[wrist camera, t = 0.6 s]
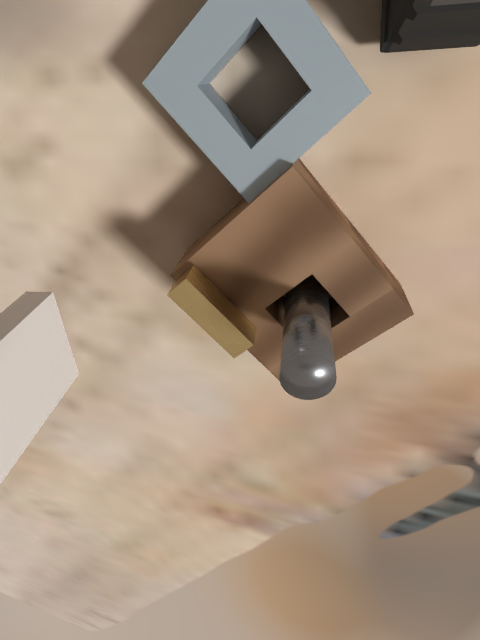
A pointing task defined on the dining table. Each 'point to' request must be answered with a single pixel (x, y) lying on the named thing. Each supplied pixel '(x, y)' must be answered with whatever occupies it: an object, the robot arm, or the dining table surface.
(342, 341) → the socket block
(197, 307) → the tan rectangular bar
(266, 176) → the grey square holed block
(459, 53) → the dining table surface
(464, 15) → the gun
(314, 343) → the steel round bar
